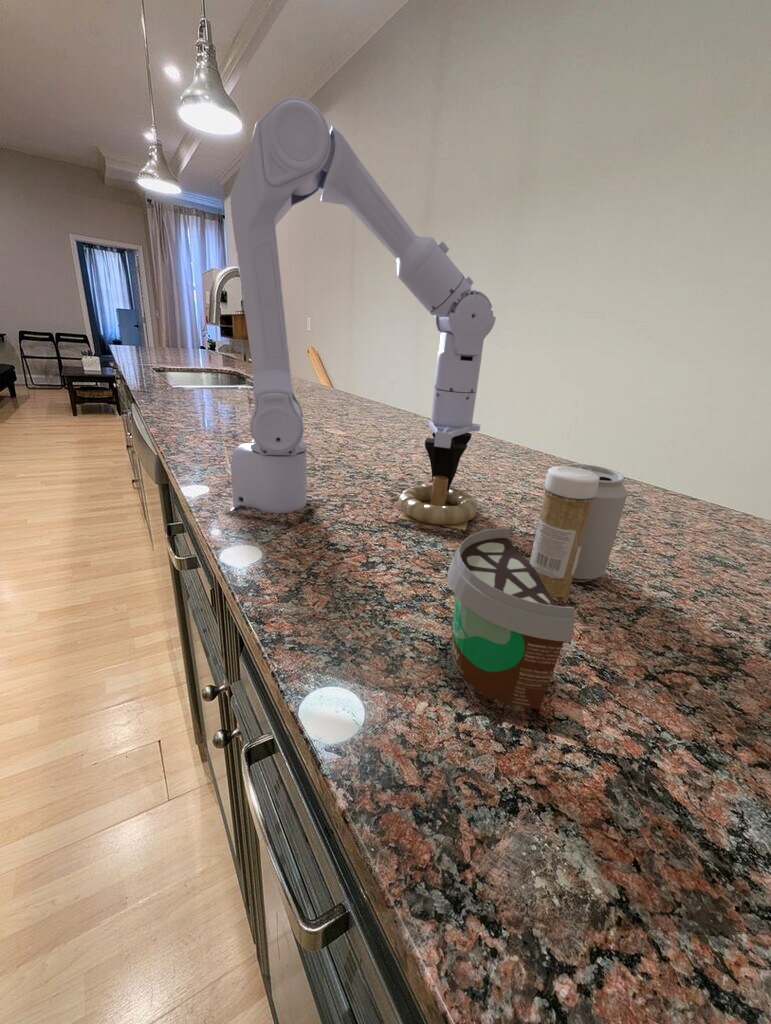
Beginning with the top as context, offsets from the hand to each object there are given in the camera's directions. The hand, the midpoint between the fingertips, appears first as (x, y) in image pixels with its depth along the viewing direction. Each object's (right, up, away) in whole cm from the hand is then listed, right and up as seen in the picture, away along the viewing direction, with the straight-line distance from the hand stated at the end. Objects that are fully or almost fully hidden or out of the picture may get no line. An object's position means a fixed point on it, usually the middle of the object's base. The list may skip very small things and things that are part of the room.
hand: (443, 484), depth 65 cm
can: (+13, -11, -13) cm, 21 cm away
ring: (-1, -3, -3) cm, 5 cm away
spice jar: (+8, -13, -19) cm, 24 cm away
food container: (-1, -17, -30) cm, 34 cm away
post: (-1, -5, -2) cm, 6 cm away
